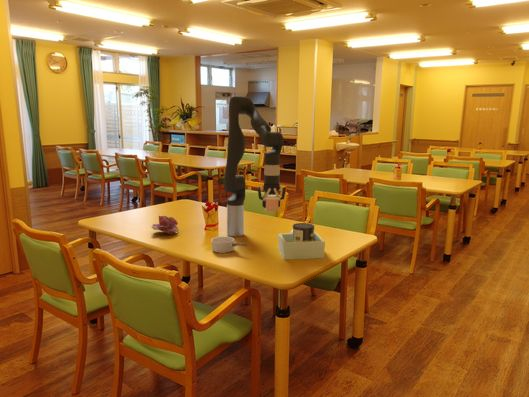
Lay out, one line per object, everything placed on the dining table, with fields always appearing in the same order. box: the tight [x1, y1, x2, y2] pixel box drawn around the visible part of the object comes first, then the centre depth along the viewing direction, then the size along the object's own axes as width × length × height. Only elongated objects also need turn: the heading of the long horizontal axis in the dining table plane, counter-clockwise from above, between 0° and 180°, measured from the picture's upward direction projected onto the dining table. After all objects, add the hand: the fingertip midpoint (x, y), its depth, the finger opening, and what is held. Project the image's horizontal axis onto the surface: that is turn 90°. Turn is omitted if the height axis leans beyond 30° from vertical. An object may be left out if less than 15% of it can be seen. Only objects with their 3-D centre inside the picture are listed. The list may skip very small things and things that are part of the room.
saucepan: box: [210, 235, 248, 254], centre depth 200 cm, size 12×20×6 cm, turn 56°
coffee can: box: [292, 222, 315, 242], centre depth 197 cm, size 10×10×14 cm
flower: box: [151, 215, 179, 235], centre depth 231 cm, size 15×15×10 cm
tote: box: [277, 232, 326, 260], centre depth 198 cm, size 19×15×8 cm
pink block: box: [263, 195, 280, 212], centre depth 202 cm, size 6×6×7 cm
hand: (271, 207), depth 202 cm, fingers closed on pink block, 6 cm apart
